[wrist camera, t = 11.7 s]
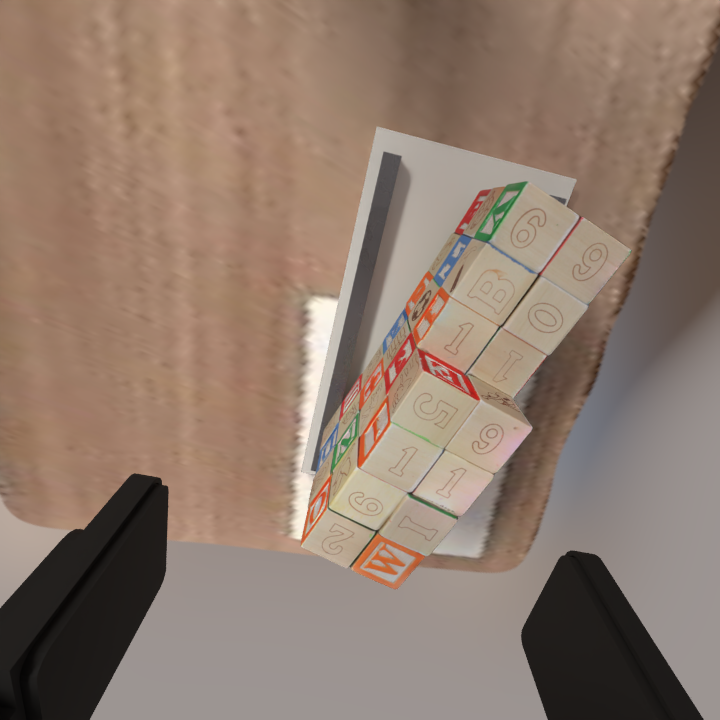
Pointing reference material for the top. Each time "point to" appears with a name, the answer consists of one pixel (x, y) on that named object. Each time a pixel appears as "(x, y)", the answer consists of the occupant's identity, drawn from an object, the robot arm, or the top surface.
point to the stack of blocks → (452, 381)
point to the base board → (402, 247)
